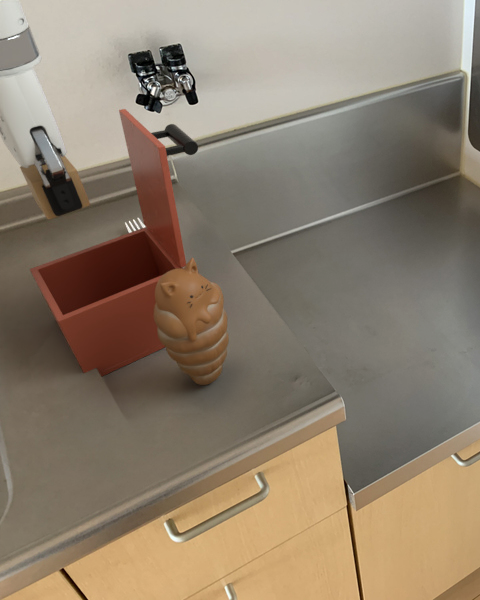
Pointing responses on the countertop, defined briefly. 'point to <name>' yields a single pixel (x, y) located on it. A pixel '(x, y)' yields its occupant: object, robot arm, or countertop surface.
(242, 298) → the countertop surface
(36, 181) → the carton
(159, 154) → the bin lid
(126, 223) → the fork
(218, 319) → the cat ice cream
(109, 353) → the trash can
